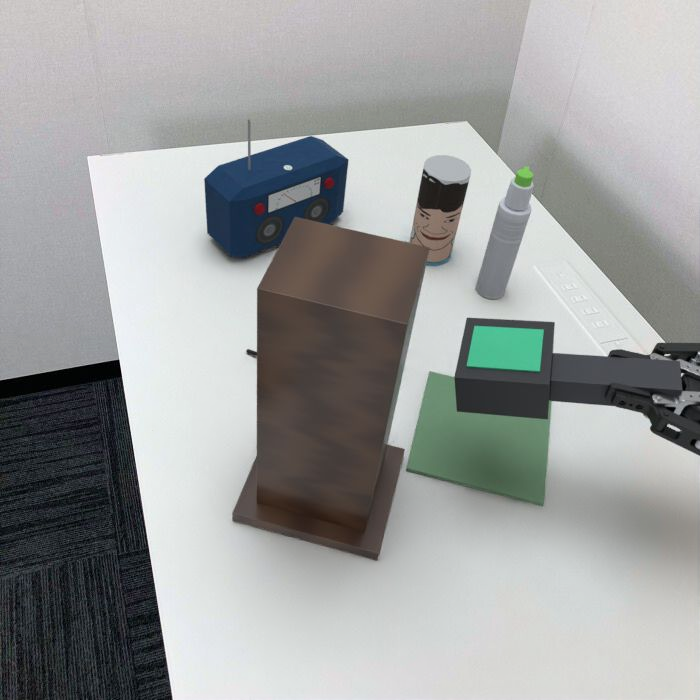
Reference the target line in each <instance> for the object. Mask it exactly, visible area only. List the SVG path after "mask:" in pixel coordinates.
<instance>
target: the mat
mask: <svg viewBox="0 0 700 700" xmlns="http://www.w3.org/2000/svg"><path fill="white" fill-rule="evenodd" d="M454 377H455V376H451V375H447V374H443V373H440V372H436V371H431V370H429V372H428V376H427V381H426V384H425V389H424V393H423V396H422V397H423V398H422V401H421V405H420V410H419V414H418V418H417V422H416V426H415V429H414V430H415V431H414V435H413V439H412V444H411V447H410V451H409V455H408V460H407V464H406V469H405V471H407V472H409V473H410V472H411V473H414V474H418V475H422V476H426V477H430V478H434V479H437V480H441V481H445V482H449V483H451V484H457V485H460V486H464V487H467V488H472V489H475V490H480V491H483V492H487V493H491V494H495V495H499V496H502V497H506V498H510V499H514V500H517V501H522V502H525V503H530V504H533V505H537V506H541V507H544V505H545V499H546V498H545V496H546V486H547V485H546V483H547V469H548V458H549V457H548V454H549V443H550V430H551V429H550V428H551V416H552V414H551V413H552V402H553V401H550V400H549V411H548V419H536V418H524V417H513V416H502V415H490V414H479V413H467V412H457V407H456V393H455V379H454Z"/></svg>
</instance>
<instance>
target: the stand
mask: <svg viewBox="0 0 700 700" xmlns="http://www.w3.org/2000/svg"><path fill="white" fill-rule="evenodd" d="M429 249H430V248H429V247H425V246H421V245H417V244H412V243H409V241H408V242H407V241H402V240H399V239H394V238H390V237H385V236H382V235H377V234H373V233H367V232H364V231H359V230H355V229H351V228H347V227H346V228H345V227H341V226H337V225H333V224H324V223H320V222H316V221H311V220H307V219H302V218H298V217H295V218H294V219H293V221H292V223H291V225H290V227H289V229H288V231H287V233H286V235H285V237H284V238H283V240H282V242H281V244H279V245H278V248H277V250H276V252H275V254H274V255H273V258H272V259H271V261H270V263H269V264H268V267H267V269H266V271H265V273H264V275H263V276H262V279H261V280H260V282H259V284H258V286H257V288H256V352H257V356H256V456H255V459H254V461H253V462H252V466H251V467H250V470H249V473H248V474H247V477H246V479H245V483H244V485H243V487H242V489H241V491H240V494H239V496H238V499H237V501H236V504H235V506H234V508H233V510H232V514H231V515H232V516H231V517H232V521H233V522H236V523H240V524H243V525H247V526H251V527H254V528H257V529H262V530H265V531H269V532H272V533H276V534H279V535H284V536H286V537H291V538H294V539H298V540H302V541H305V542H309V543H312V544H316V545H320V546H324V547H326V548H330V549H334V550H337V551H341V552H345V553H348V554H353V555H355V556H360V557H363V558H367V559H370V560H374V561H378V560H379V556H380V552H381V548H382V544H383V540H384V536H385V532H386V528H387V524H388V520H389V517H390V513H391V512H390V511H391V509H392V504H393V499H394V496H395V492H396V487H397V483H398V480H399V475H400V472H401V468H402V464H403V458H404V455H405V451H406V449H405V448H402V447H399V446H396V445H391V444H389V441H390V436H391V430H392V426H393V422H394V417H395V412H396V407H397V402H398V398H399V395H400V389H401V385H402V380H403V375H404V371H405V367H406V361H407V357H408V351H409V348H410V347H409V346H410V343H411V342H410V341H411V338H412V332H413V329H414V323H415V319H416V314H417V310H418V305H419V301H420V295H421V291H422V287H423V282H424V277H425V273H426V267H427V265H426V263H427V259H428V254H429Z"/></svg>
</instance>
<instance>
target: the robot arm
mask: <svg viewBox="0 0 700 700" xmlns="http://www.w3.org/2000/svg"><path fill="white" fill-rule="evenodd" d="M607 356H608V357H624V358H640V359H656V360H672V361H680V368H681V379H682V389H683V390H682V394H677V395H675V396H672V395H668V394H657V393H656V394H653V395H652V396H651V395H650V391H648V390H644V389H639V388H635V387H632V386H628V385H623V384H619V383H611V384H610V385H609V387H608V389H607V391H606V393H605V401H606V402H608V403H611V404H612V405H614V406H613V407H615V408H619V409H625V410H628V411H632V412H636V413H640V414H642V415H643V416H644V417H645V418H646V419H648V420H649V422H650V424H651V425H650V426H649V430H650V432H651V433H652V434H653V435H656V436H658V437H660V438H662V439H664V440H666V441H667V442H670V443H672V444H674V445H676V446H678V447H681V448H682V449H685V450H686V451H688V452H691V453H692V454H695V455H697V456H698V457H700V342H657V343H656V344H655V346H654V347H653V349H652V351H651V352H650V354H644V353H640V352H634V351H630V350H625V349H622V348H617V349H611V350H610V351H609V353H608V354H607ZM666 407H669V408H667V409H666ZM668 425H670V426H672V427H674V428H676V429H679V430H675V429H674V428H671V427H670V426H668Z"/></svg>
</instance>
